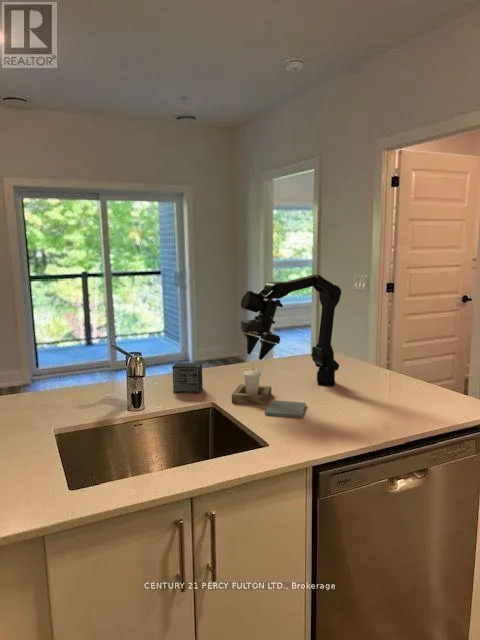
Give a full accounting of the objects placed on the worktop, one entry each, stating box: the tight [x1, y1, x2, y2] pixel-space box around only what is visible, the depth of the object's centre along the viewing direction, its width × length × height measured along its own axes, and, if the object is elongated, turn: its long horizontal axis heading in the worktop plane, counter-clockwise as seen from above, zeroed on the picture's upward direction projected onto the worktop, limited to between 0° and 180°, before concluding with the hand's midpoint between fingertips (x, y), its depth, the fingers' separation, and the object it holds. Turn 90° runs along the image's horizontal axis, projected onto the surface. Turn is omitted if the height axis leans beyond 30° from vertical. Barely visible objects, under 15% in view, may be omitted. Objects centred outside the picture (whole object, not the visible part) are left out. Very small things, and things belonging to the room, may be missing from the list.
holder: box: [231, 384, 272, 406], centre depth 168 cm, size 12×12×3 cm
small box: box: [172, 362, 204, 394], centre depth 177 cm, size 11×6×10 cm, turn 84°
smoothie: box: [242, 360, 261, 395], centre depth 167 cm, size 6×6×14 cm
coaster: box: [264, 399, 307, 419], centre depth 156 cm, size 12×12×1 cm
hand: (254, 356), depth 168 cm, fingers open, 9 cm apart
